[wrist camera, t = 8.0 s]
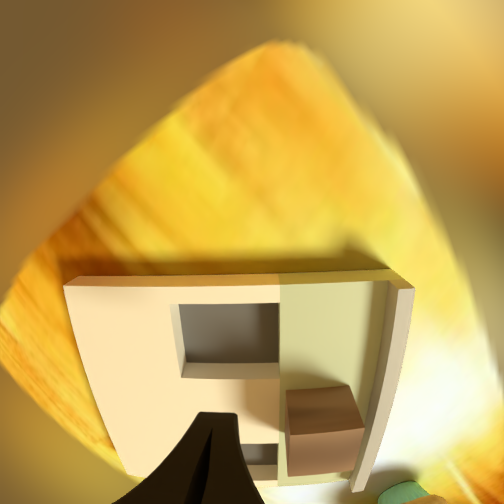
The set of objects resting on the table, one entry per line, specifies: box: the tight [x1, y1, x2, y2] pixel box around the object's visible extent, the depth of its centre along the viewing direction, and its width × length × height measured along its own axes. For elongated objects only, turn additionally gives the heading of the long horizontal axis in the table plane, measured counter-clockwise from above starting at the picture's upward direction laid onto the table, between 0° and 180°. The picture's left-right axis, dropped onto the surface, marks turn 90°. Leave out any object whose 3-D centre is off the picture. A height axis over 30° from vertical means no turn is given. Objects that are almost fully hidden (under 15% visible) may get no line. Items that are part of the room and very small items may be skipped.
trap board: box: [63, 269, 415, 493], centre depth 19 cm, size 18×20×4 cm
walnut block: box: [285, 385, 365, 477], centre depth 17 cm, size 4×4×4 cm
